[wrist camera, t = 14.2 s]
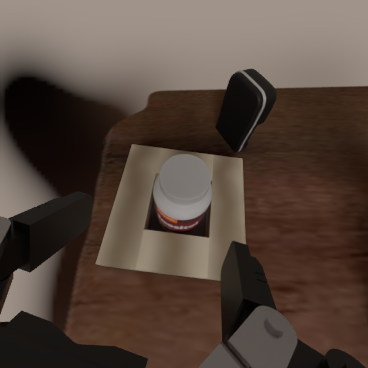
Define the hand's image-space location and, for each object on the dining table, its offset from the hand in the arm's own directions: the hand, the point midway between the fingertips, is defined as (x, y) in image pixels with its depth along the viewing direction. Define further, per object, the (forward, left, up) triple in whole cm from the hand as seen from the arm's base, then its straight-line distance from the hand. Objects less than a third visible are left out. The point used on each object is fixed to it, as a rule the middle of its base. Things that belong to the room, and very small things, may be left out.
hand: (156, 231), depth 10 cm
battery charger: (-9, -22, -16) cm, 29 cm away
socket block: (-1, -6, -16) cm, 17 cm away
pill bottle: (-1, -6, -15) cm, 16 cm away
